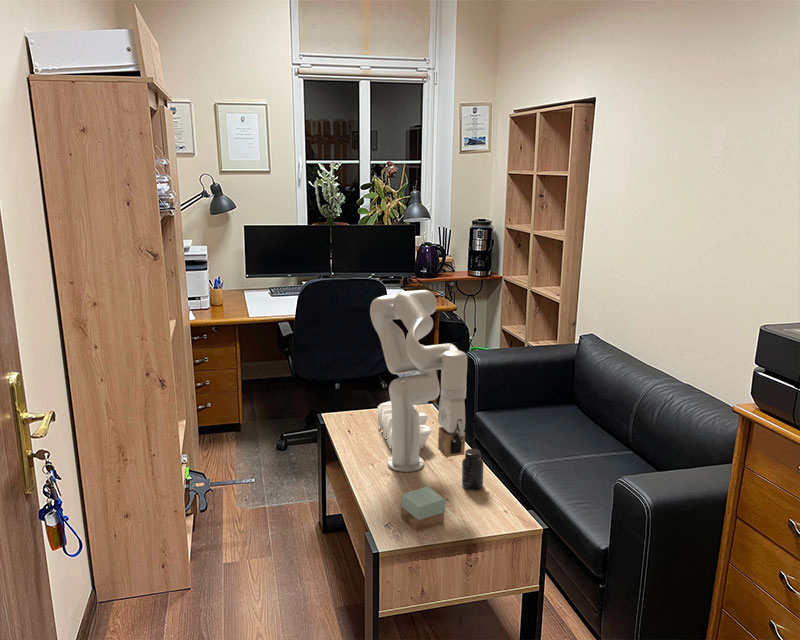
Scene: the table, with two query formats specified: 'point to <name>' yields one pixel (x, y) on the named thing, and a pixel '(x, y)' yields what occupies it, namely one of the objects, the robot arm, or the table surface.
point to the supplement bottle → (472, 470)
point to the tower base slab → (422, 520)
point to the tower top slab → (423, 503)
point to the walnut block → (448, 443)
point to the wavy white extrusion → (386, 423)
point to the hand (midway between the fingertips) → (451, 447)
